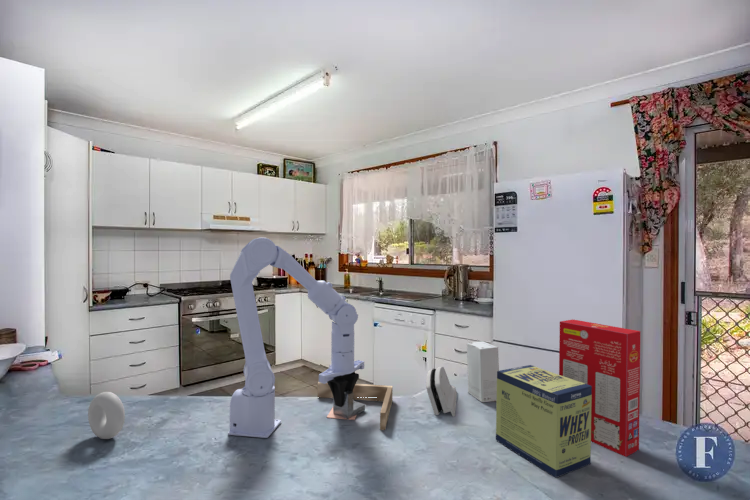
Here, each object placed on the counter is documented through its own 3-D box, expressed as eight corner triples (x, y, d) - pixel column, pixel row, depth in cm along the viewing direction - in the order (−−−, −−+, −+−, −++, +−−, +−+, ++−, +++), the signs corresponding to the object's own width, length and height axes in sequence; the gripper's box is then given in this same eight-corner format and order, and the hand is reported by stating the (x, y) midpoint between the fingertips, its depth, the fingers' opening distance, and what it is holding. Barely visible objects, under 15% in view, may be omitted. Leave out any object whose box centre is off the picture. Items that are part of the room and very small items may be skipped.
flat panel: (326, 417, 94) (326, 417, 94) (334, 404, 102) (334, 403, 102) (354, 419, 93) (354, 419, 93) (360, 406, 101) (360, 405, 101)
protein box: (557, 479, 70) (558, 394, 69) (494, 440, 83) (495, 369, 83) (592, 464, 74) (593, 385, 74) (527, 430, 88) (528, 363, 88)
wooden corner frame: (297, 423, 91) (297, 406, 90) (318, 395, 108) (318, 381, 108) (385, 430, 88) (385, 412, 88) (392, 400, 105) (392, 385, 105)
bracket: (347, 419, 93) (348, 394, 93) (333, 413, 96) (333, 389, 96) (365, 410, 98) (365, 387, 98) (350, 405, 101) (350, 382, 101)
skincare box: (500, 401, 104) (500, 347, 104) (480, 403, 103) (481, 348, 103) (484, 390, 113) (484, 340, 112) (465, 392, 111) (466, 341, 111)
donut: (128, 439, 83) (128, 393, 83) (112, 446, 80) (112, 399, 79) (101, 429, 87) (101, 386, 87) (84, 436, 84) (84, 391, 84)
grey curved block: (454, 417, 94) (441, 378, 95) (436, 421, 96) (423, 382, 96) (457, 392, 111) (445, 359, 111) (441, 396, 112) (430, 363, 113)
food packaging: (638, 449, 80) (640, 331, 80) (625, 456, 77) (627, 334, 77) (571, 421, 92) (572, 319, 92) (558, 427, 90) (559, 321, 90)
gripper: (350, 341, 103) (350, 391, 103) (310, 353, 92) (309, 409, 92) (370, 346, 99) (370, 398, 99) (330, 358, 87) (330, 417, 88)
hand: (342, 404), depth 95 cm, fingers closed on bracket, 2 cm apart
